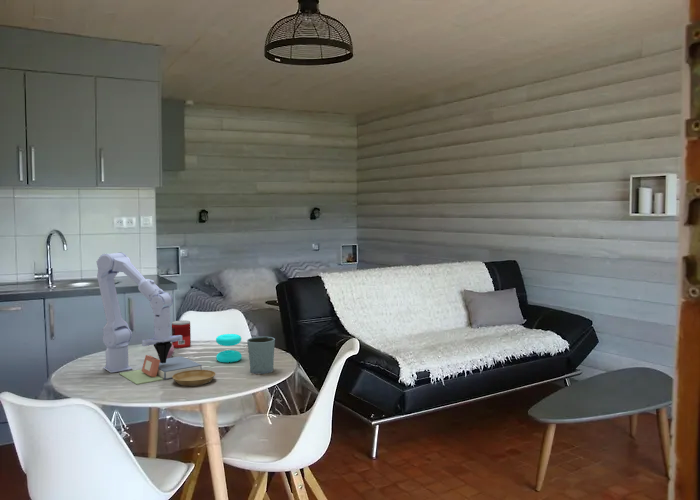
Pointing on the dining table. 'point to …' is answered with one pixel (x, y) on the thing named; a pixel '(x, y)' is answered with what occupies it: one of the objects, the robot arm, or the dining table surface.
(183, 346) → the canned food
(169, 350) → the pink rounded piece
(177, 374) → the plant saucer
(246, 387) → the dining table surface
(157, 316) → the robot arm
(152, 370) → the card box
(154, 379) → the felt mat
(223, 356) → the donuts
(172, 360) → the book deck
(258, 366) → the grey plant pot
